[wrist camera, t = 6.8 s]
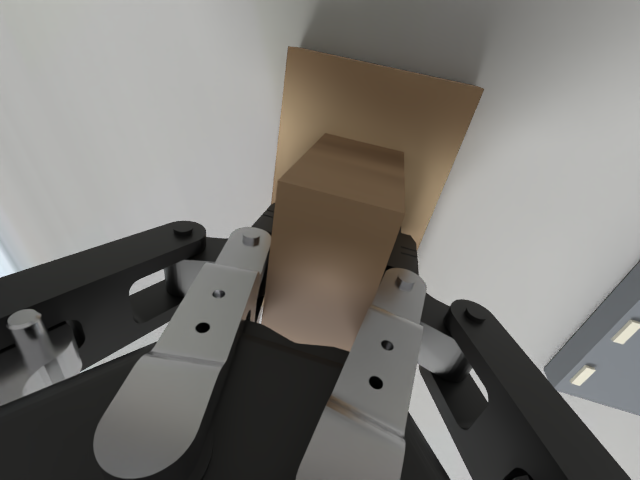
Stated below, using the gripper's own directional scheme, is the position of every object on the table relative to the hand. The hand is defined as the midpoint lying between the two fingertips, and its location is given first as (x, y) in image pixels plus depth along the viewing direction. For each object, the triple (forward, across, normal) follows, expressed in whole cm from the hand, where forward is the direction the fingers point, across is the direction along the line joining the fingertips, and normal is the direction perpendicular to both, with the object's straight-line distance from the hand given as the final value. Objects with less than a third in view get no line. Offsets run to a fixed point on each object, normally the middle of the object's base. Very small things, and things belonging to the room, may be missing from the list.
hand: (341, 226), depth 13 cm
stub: (+2, 0, 0) cm, 2 cm away
